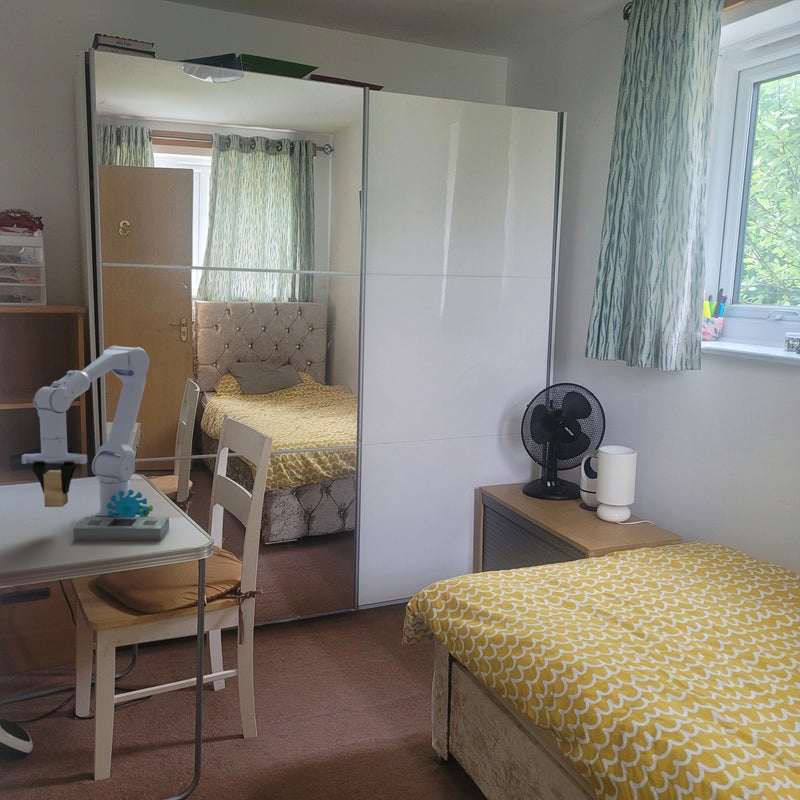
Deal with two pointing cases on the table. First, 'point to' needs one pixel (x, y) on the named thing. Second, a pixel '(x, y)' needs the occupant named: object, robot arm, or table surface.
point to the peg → (54, 489)
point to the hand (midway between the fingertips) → (56, 492)
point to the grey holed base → (121, 529)
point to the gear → (129, 505)
